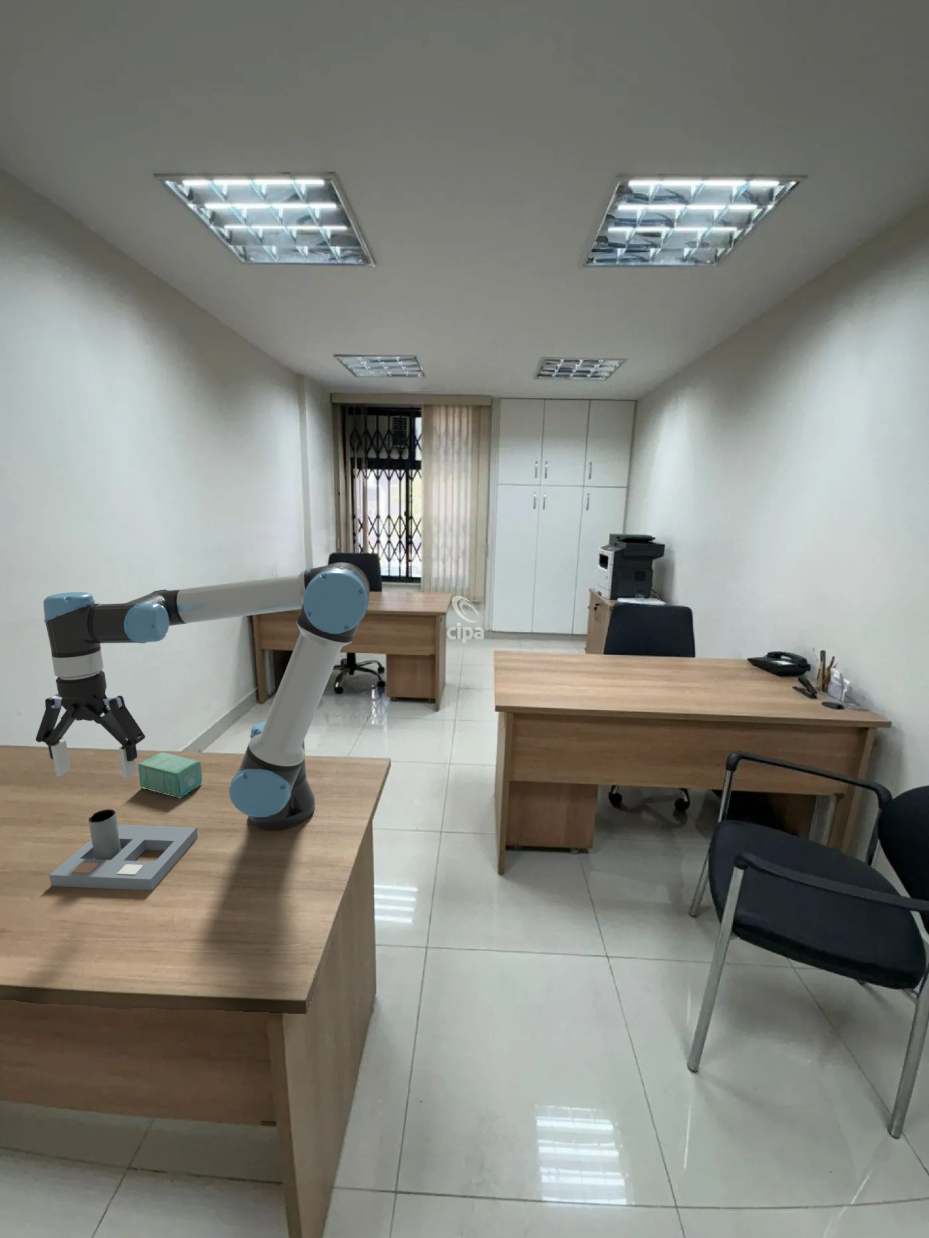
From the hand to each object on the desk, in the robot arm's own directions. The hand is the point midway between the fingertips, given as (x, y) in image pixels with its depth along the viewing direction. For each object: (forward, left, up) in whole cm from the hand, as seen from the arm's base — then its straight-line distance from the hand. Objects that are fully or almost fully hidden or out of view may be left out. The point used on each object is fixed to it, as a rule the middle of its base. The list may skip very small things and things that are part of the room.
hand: (96, 774), depth 101 cm
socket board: (-4, 0, -20) cm, 20 cm away
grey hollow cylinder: (0, 0, -20) cm, 20 cm away
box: (+3, -27, -20) cm, 34 cm away
